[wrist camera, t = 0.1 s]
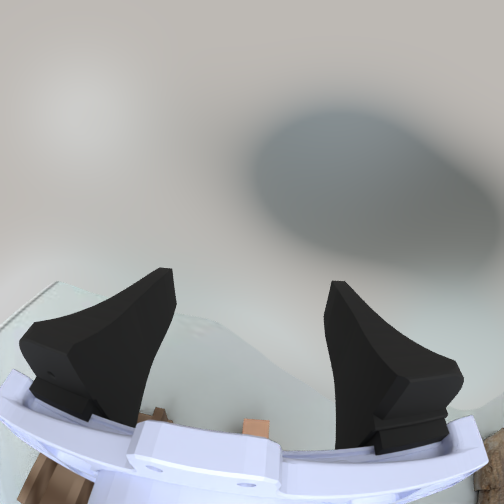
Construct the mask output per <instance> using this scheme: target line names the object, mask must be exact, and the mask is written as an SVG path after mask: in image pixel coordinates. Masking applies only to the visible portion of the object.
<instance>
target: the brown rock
mask: <svg viewBox="0 0 504 504" xmlns="http://www.w3.org/2000/svg"><path fill="white" fill-rule="evenodd" d="M483 444H484V447H485V450H486V453H487V457H488V460H489V462H488V463H487V464H486V465H485V466H483V467H482V468H480V469H479V470H477V471H476V472H474V491H477V490H480V491H479V495H478V497H479V498H478V503H477V504H504V428H502V429H501V430H499V431H497V432H496V433H495V434H494V435H492V436H490V437H488V438H487V439H485V440H484V441H483Z"/></svg>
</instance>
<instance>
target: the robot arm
mask: <svg viewBox="0 0 504 504" xmlns="http://www.w3.org/2000/svg"><path fill="white" fill-rule="evenodd" d="M176 305H177V303H176V296H175V288H174V281H173V272H172V269H170V268H158V269H156V270H155V271H153V272H151V273H150V274H148V275H147V276H145V277H144V278H142V279H141V280H139V281H137V282H136V283H134V284H133V285H131V286H130V287H128V288H126V289H125V290H123V291H121V292H120V293H118V294H116V295H115V296H113V297H111V298H109V299H107V300H105V301H103V302H101V303H99V304H97V305H95V306H92V307H90V308H87V309H85V310H82V311H79V312H77V313H74V314H70V315H67V316H63V317H60V318H56V319H51V320H45V321H40V322H34V323H33V324H32V326H31V327H30V328H29V329H28V331H27V332H26V333H25V334H24V335H23V337H22V338H21V339H20V341H19V346H20V350H21V352H22V354H23V356H24V358H25V359H26V361H27V363H28V364H29V366H30V367H31V369H32V370H33V372H34V373H35V375H36V376H37V377H36V378H35V380H34V381H33V380H31V379H30V378H29V377H28V376H26V375H24V374H22V373H21V372H19V371H17V370H15V369H12V371H11V372H10V374H9V375H8V377H7V378H6V379H5V381H4V382H3V384H2V385H1V387H0V421H1V422H2V423H3V424H4V425H5V426H7V427H8V428H9V429H10V430H11V431H12V432H13V433H14V434H15V435H16V436H17V437H18V438H20V439H21V440H22V441H24V442H25V443H27V444H28V445H30V446H31V447H33V448H34V449H36V450H37V451H39V452H41V453H42V454H44V455H45V456H47V457H48V458H50V459H52V460H53V461H55V462H57V463H58V464H60V465H62V466H64V467H65V468H67V469H69V470H71V471H72V472H74V473H76V474H78V475H80V476H82V477H84V478H86V479H88V480H90V481H92V482H94V486H93V489H92V492H91V495H90V498H89V500H88V503H87V504H405V503H408V502H411V501H414V500H417V499H420V498H423V497H426V496H429V495H431V494H434V493H437V492H439V491H442V490H444V489H447V488H449V487H452V486H454V485H455V484H457V483H459V482H460V481H462V480H463V479H465V478H467V477H468V476H470V475H471V474H473V473H474V472H476V471H477V470H479V469H480V468H482V467H483V466H485V465H486V464H487V463H488V462H489V460H488V457H487V453H486V450H485V447H484V444H483V441H482V438H481V435H480V433H479V430H478V427H477V425H476V422H475V419H474V417H473V415H469V416H466V417H463V418H459V419H456V420H453V421H451V422H450V423H448V424H446V421H445V418H446V417H447V416H448V413H447V410H446V407H447V406H448V405H449V403H450V402H451V401H452V400H453V399H454V397H455V396H456V395H457V394H458V392H459V391H460V389H461V388H462V385H463V382H464V377H463V375H462V373H461V371H460V369H459V367H458V365H457V363H456V361H454V360H452V359H449V358H446V357H444V356H442V355H439V354H437V353H434V352H432V351H430V350H428V349H426V348H424V347H422V346H421V345H419V344H417V343H415V342H414V341H412V340H410V339H409V338H407V337H406V336H404V335H403V334H401V333H400V332H399V331H397V330H396V329H395V328H393V327H392V326H391V325H389V324H388V323H387V322H386V321H384V320H383V319H382V318H381V317H380V316H379V315H378V314H377V313H376V312H374V311H373V310H372V309H371V308H370V307H369V306H368V305H367V304H366V303H365V302H364V301H363V300H362V299H361V298H360V297H359V295H358V294H356V292H355V291H354V290H353V289H352V288H351V287H350V286H349V285H348V284H347V283H346V282H345V281H332V282H331V287H330V292H329V296H328V300H327V304H326V308H325V312H324V328H325V337H326V342H327V347H328V351H329V355H330V361H331V366H332V371H333V376H334V384H335V400H336V443H335V450H321V451H282V448H281V446H280V445H279V444H278V443H277V442H274V441H272V440H270V439H268V438H266V437H260V436H254V435H249V434H239V433H230V432H221V431H214V430H207V429H201V428H195V427H189V426H184V425H179V424H174V423H169V422H165V421H156V420H146V421H143V422H140V423H137V421H138V415H139V411H140V406H141V401H142V397H143V393H144V389H145V386H146V382H147V378H148V375H149V372H150V369H151V366H152V363H153V360H154V358H155V356H156V354H157V351H158V349H159V347H160V345H161V343H162V341H163V339H164V337H165V334H166V332H167V330H168V328H169V326H170V324H171V321H172V318H173V315H174V312H175V308H176Z"/></svg>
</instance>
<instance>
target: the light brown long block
mask: <svg viewBox="0 0 504 504" xmlns="http://www.w3.org/2000/svg"><path fill="white" fill-rule="evenodd" d="M242 434H249V435H254V436H260V437H266V438H269V420H254V419H244V423H243V431H242Z"/></svg>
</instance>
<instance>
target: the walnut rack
mask: <svg viewBox="0 0 504 504" xmlns="http://www.w3.org/2000/svg"><path fill="white" fill-rule="evenodd" d="M146 420H156V421H165V422H169V423H173V421H172V420H168V418H167V415H166V412H165V409H162V408H157V407H156V408H155V410H154V413H153V416H150V415H146V414H142V413H139V415H138V421H137V423H140V422H143V421H146ZM93 486H94V482H92V481H90V480H88V479H86V478H84V477H82V476H80V475H78V474H76V473H74V472H72V471H71V470H69V469H67V468H65V467H64V466H62V465H60V464H58V463H57V462H55V461H53V460H52V459H50V458H48V457H47V456H45V455H44V454H42V453H41V452H40V454H39V456H38V458H37V460H36V462H35V463H34V465H33V467H32V469H31V471H30V473H29V475H28V477H27V479H26V481H25V483H24V485H23V487H22V489H21V492H20V494H19V496H18V498H17V500H18V501H19V502H21V503H22V504H87V503H88V500H89V498H90V495H91V492H92V489H93Z"/></svg>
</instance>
